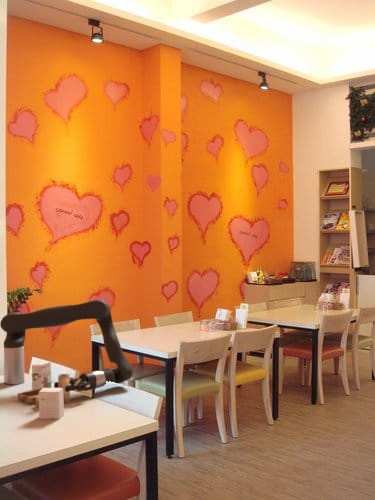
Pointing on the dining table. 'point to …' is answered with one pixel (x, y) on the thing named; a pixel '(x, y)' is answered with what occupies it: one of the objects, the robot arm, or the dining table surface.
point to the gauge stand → (44, 387)
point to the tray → (29, 396)
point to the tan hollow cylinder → (62, 383)
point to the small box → (51, 403)
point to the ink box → (41, 375)
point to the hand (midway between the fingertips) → (60, 387)
